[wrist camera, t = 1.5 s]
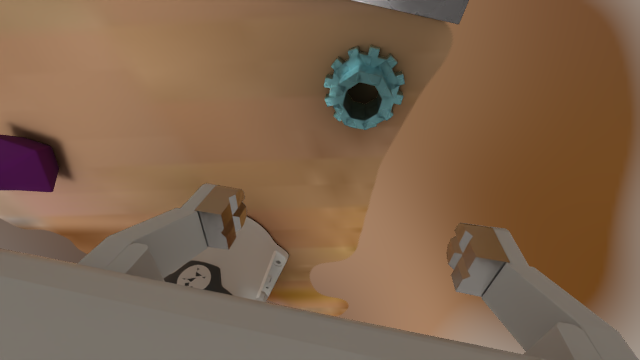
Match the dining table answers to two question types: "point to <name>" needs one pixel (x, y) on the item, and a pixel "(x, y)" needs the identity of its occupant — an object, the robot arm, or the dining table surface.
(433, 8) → the carrier plate
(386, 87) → the planet gear
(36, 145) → the perfume bottle
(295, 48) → the dining table surface
